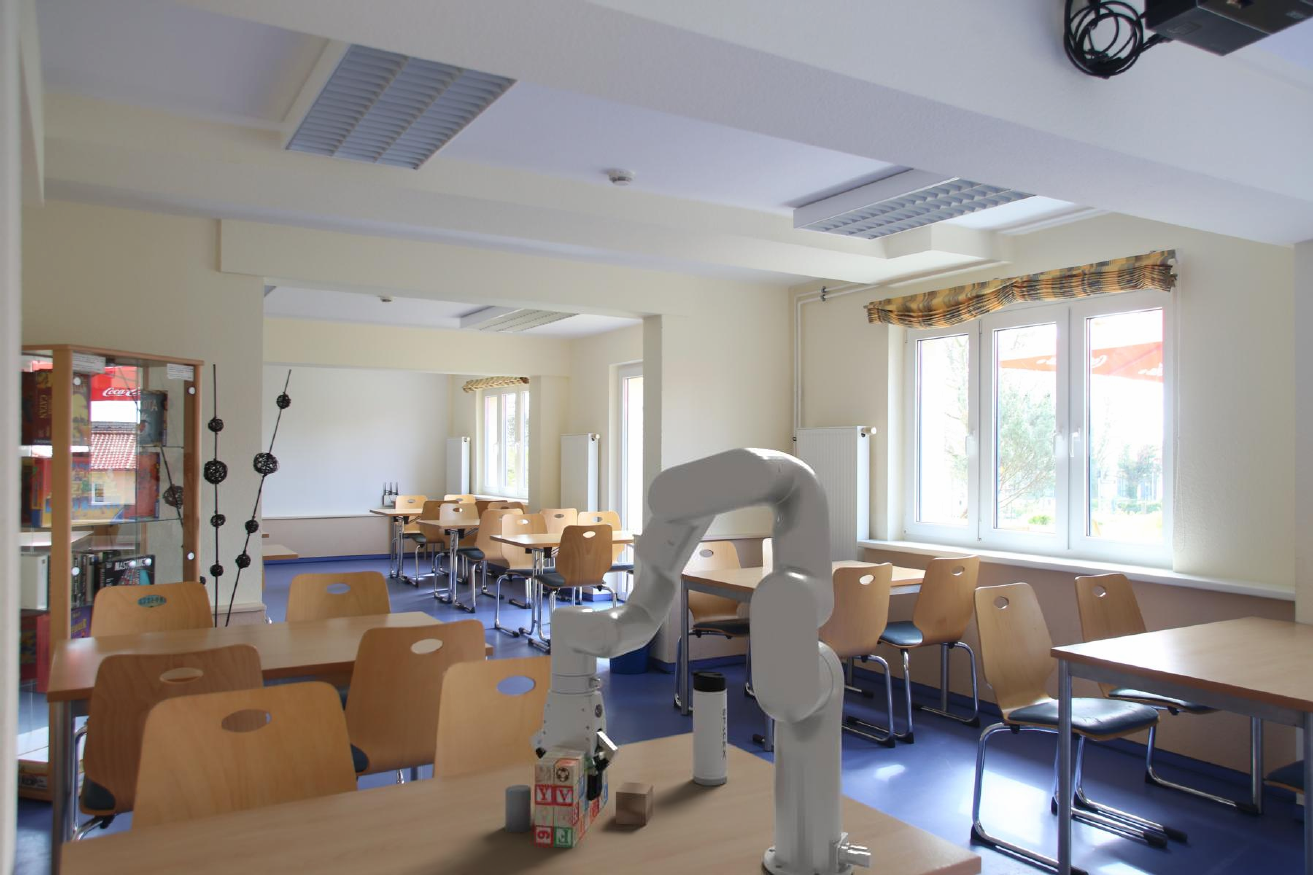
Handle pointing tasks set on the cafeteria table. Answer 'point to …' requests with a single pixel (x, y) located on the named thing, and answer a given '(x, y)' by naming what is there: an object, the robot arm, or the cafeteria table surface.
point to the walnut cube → (634, 803)
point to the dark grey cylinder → (518, 808)
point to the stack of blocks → (564, 797)
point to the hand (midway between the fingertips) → (572, 793)
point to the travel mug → (709, 728)
